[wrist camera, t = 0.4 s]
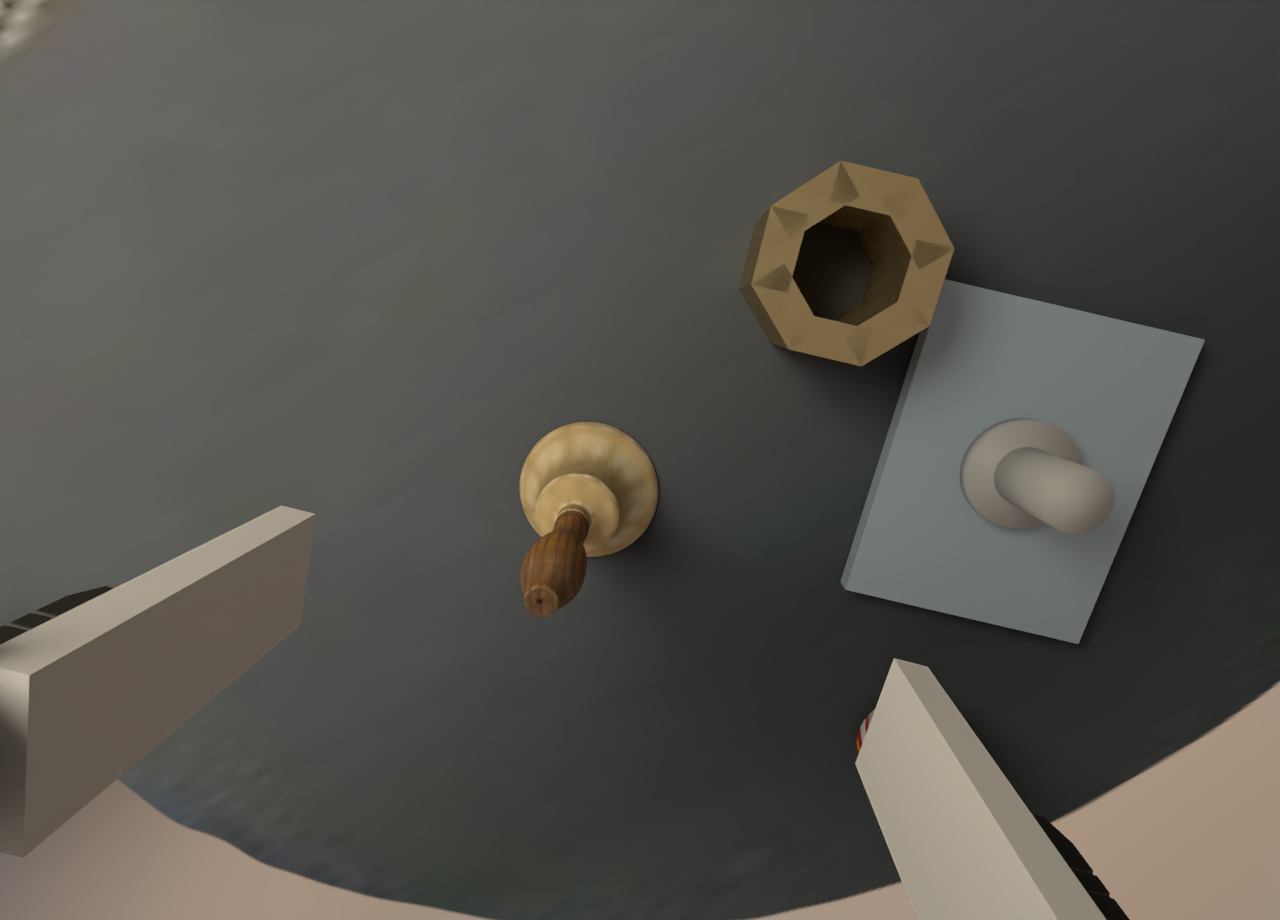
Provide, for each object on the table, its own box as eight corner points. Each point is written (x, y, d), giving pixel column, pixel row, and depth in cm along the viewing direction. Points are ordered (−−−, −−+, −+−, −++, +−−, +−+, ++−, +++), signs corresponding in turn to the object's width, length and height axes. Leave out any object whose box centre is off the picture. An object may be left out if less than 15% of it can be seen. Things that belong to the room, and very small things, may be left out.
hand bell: (592, 392, 38) (536, 447, 23) (687, 496, 40) (694, 616, 24) (491, 483, 40) (375, 593, 24) (585, 581, 41) (530, 746, 26)
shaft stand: (936, 280, 36) (999, 273, 29) (1187, 338, 36) (1311, 345, 29) (840, 581, 40) (875, 638, 33) (1066, 634, 40) (1149, 703, 33)
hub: (767, 174, 35) (786, 147, 30) (923, 211, 35) (972, 191, 30) (727, 333, 37) (737, 337, 31) (875, 367, 37) (912, 378, 31)
